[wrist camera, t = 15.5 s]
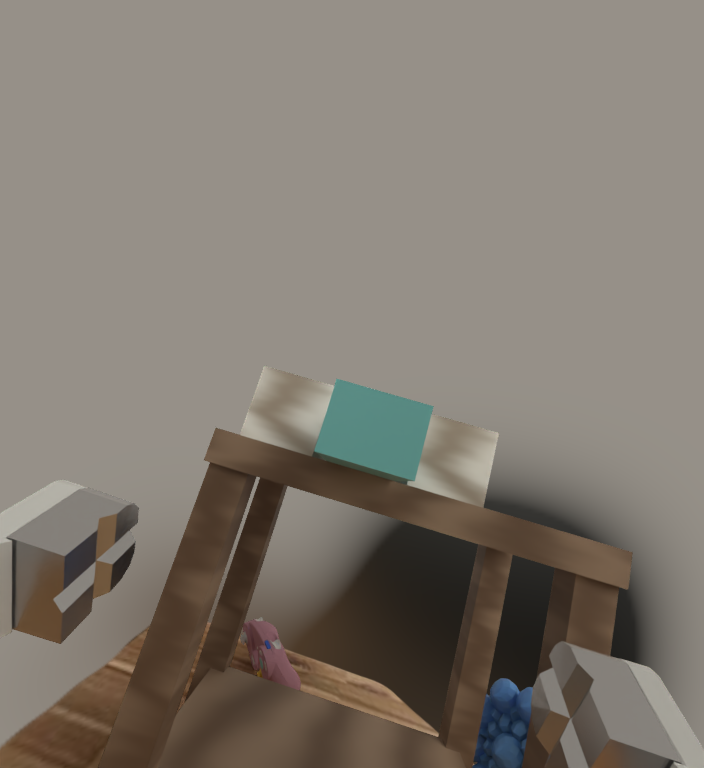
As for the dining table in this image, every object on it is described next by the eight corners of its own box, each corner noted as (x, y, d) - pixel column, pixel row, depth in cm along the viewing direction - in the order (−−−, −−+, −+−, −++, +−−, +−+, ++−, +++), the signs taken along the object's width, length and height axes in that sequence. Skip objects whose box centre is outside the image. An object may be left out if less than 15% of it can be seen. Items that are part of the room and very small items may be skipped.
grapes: (593, 886, 33) (614, 722, 36) (540, 902, 30) (567, 722, 33) (485, 775, 43) (507, 653, 46) (437, 778, 40) (464, 648, 43)
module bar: (376, 480, 39) (384, 449, 39) (414, 481, 15) (433, 406, 16) (336, 468, 39) (345, 438, 40) (314, 451, 16) (336, 378, 16)
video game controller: (240, 667, 53) (234, 614, 53) (273, 651, 56) (267, 601, 55) (266, 716, 45) (259, 654, 45) (304, 695, 47) (297, 636, 47)
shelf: (451, 828, 35) (520, 471, 42) (552, 1183, 17) (643, 465, 24) (177, 731, 36) (287, 403, 43) (15, 968, 19) (244, 351, 26)
